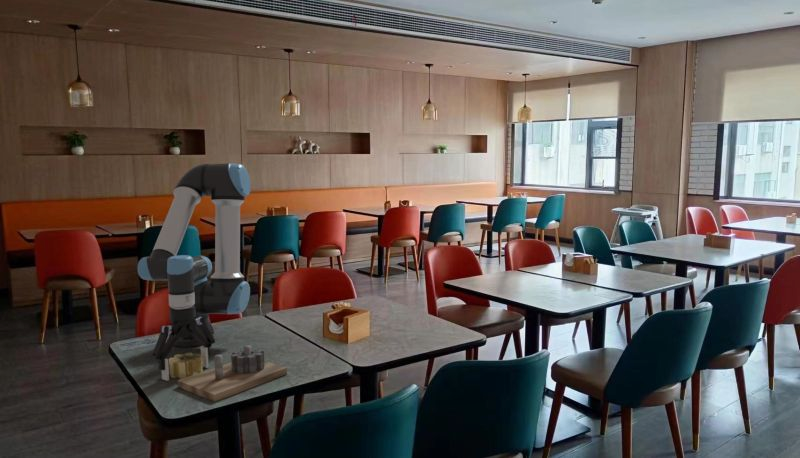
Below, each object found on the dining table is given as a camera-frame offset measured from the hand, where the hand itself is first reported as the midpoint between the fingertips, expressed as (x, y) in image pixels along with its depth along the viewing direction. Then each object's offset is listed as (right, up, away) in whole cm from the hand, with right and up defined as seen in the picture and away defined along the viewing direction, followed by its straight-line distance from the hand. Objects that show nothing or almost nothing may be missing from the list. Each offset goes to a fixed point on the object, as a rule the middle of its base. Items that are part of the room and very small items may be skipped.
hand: (185, 373), depth 187 cm
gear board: (+17, -1, -6) cm, 18 cm away
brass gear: (0, 0, 0) cm, 0 cm away
